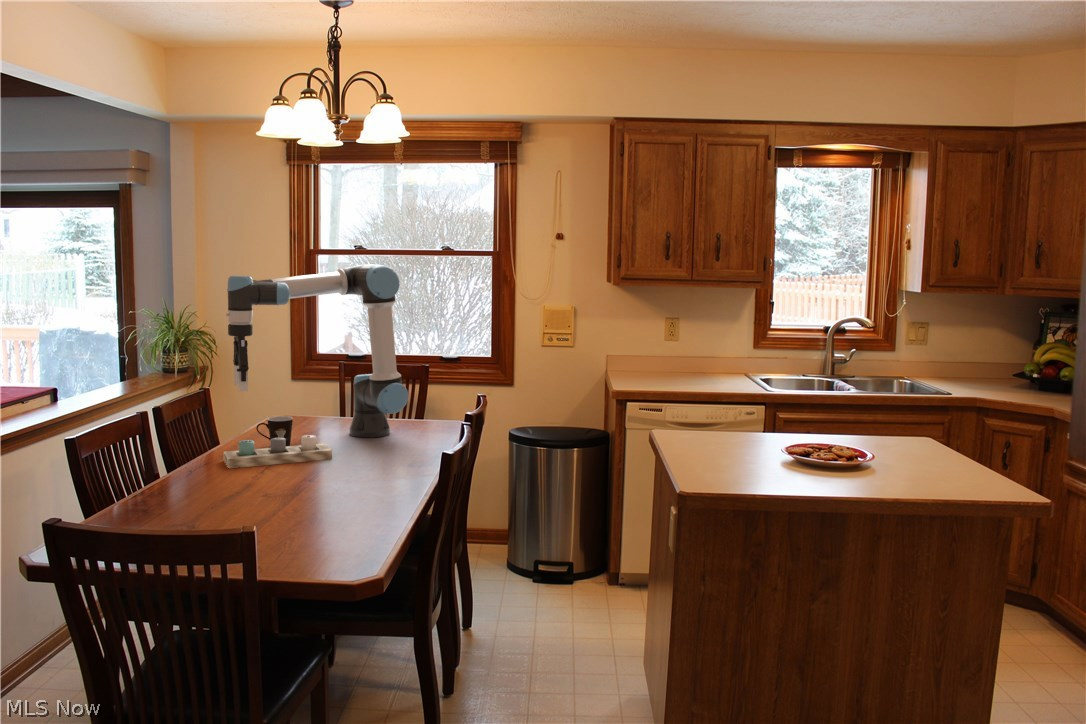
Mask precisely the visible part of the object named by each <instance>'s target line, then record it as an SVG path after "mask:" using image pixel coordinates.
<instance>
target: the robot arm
mask: <svg viewBox="0 0 1086 724" xmlns="http://www.w3.org/2000/svg"><path fill="white" fill-rule="evenodd" d="M400 284H401V283H400V278H399V275H398V274H397V272H396V270H394V269H393V268H392V267H390V266H387V265H383V264H369V263H365V264H358V265H355V266H350V267H344V268H343V267H342V268H338V269H337V270H336V271H334V272H332V271H331V272H323V273H316V274H304V275H295V276H286V277H278V278H270V279H260V280H257V279H253V278H252V276H250V275H231V276H229V277H228V279H227V290H226V291H227V313H225V316H226V317H227V321H228V323H229V324H228V325H227V335H228V336H230V337H233V340H234V341H233V360H232V362H233V365H234V366H233V386H238V392H239V393H240V392H243V393H244V392H248V391H249V377H248V375H249V371H248V370H249V368H250V367H249V357H248V340H246V337H251V336H253V334H254V333H253V332H254V331H253V324H251V323H253V321H254V320H253V319H254V316H253V315H254V314H253V311H254V310H253V309H254V308H253V306H285V305H287V304H288V302H289V301H290V299H298V298H304V297H305V298H306V297H313V296H314V297H315V296H322V295H330V294H331V295H332V294H340V295H341V296H345V295H357V296H361V298H362V304H363V305H364V306H365V307H366V308H367V317H368V327H369V329H368V330H369V340H370V349H371V350H370V352H371V362H372V363H371V364H372V373H368V374H367V373H365V374H357V375H355V376H354V379H353V384H352V385H353V417H352V420H351V423H350V425H349V426H350V427H349V435H350V436H352V437H354V438H356V437H357V438H379V437H386V436H388V435H390V433H391V427H390V424H389V421H388V418H387V417H388V416H387V415H386V414H389V415H392V414H394V415H395V414H397V413H399V412H401V411H402V410H403V409H404V408H405V406H406V405H407V403H408V401H409V391H408V389H407V387H406V386H405V385H404V384H403V379H402V374H401V373H400V372H398V369H397V368H398V367H397V358H396V357H397V356H396V346H395V345H396V343H395V331H394V321H393V320H394V319H393V305H394V304H395V303H396V295H397V293H398V291H399V290H400Z"/></svg>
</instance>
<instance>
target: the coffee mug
mask: <svg viewBox="0 0 1086 724" xmlns="http://www.w3.org/2000/svg"><path fill="white" fill-rule="evenodd" d="M266 420H267V423H265V422H260V423H257V425H256V432H257V433H258V434H259V435H260V436H261V437H264V438H265V439H268V440H269V441H270V439H272V438H285V439H286V446H291V440H292V433H293V432H292V431H293V423H294V418H293V417H292V416H284V415H282V416H272V417H268V418H267V419H266ZM261 425H264V426H266V428H267V429H268V433H269V436H267V435H265V434H263V433H261V431H260V430H259V426H261Z"/></svg>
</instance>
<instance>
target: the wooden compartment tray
mask: <svg viewBox="0 0 1086 724" xmlns="http://www.w3.org/2000/svg"><path fill="white" fill-rule="evenodd" d="M222 455H223V462H224V461H225V462H224V464H225V463H226V464H225V466H226V465H227V466H226V467H228V468H229V469H237V468H238V469H239V467H240V468H249V467H258V466H259V467H260V466H269V465H270V466H271V465H282V464H292V463H301V462H313V461H324V460H326V461H327V460H332V459H333V450H332V448H330V447H329V446H328V445H327V444H326V443H316V450H308V451H302V450H301V444H299V445H290V446H286V452H285V453H274V454H271V447H264V448H254V455H251V456H239V450H228V451H223V454H222ZM228 468H227V469H228Z"/></svg>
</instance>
